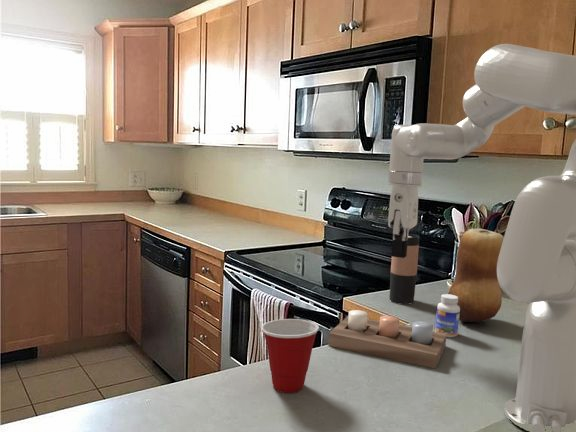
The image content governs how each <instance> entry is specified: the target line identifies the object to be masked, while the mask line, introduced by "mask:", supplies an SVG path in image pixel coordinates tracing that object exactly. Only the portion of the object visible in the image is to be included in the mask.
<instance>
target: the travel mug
mask: <svg viewBox="0 0 576 432" xmlns="http://www.w3.org/2000/svg"><path fill="white" fill-rule="evenodd" d="M407 240H408V244H407V256H406V257H405V258H399V257H393V256H392V255H391V263H390V264H391V265H390V279H389V280H390V281H389V282H390V283H389V301H390V300H391V301H390V302H391V303H394V302H395V303H394V304H398V303H401V304H400V305H410V304H409V303H412V304H413V303H414V302H415V301H414V299H415V294H416V285H417V283H416V282H417V275H418V264H419V263H418V262H419V248H420V236H419V235H418V234H414V233H408V239H407Z"/></svg>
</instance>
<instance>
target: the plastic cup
mask: <svg viewBox="0 0 576 432" xmlns="http://www.w3.org/2000/svg"><path fill="white" fill-rule="evenodd" d="M260 327H261V332H262V333H263V335H264V339H265V344H266V345H267V348H266V349H267V354H268V361H269V370H270V373H271V374H270V375H271V382H272V387H273V388H274V390H276V391H278V392H280V393H284V394H294V393H298V392H301V390H303V388H304V386H305V381H306V377H307V374H308V369H309V365H310V361H311V357H312V356H311V355H312V352H313V346H314V344H315V339H316V337H317V336H316V335H317V334H318V333H317V332H318V331H320V327H319V325H318V323H315V322H313V321H311V320H307V319H298V318H297V319H296V318H284V319H283V318H282V319H273V320H271V321H267V322H264V323H263V324H262V325H261V326H260Z"/></svg>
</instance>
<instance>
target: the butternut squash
mask: <svg viewBox="0 0 576 432" xmlns="http://www.w3.org/2000/svg"><path fill="white" fill-rule="evenodd" d="M504 236H505V235H502V234H501V233H498V232H495V231H492V230H488V229H484V228H480V227H479V228H470V229H467V230H466V231H465V232H463V234H462V235H461V238H460V241H459V243H458V244H459V245H458V249H457V253H456V266H455V277H454V280H453V282H452V284H451V285H450V287H449V291H448V293H447V294H451V295H455V296H457V297H458V303H457V305H458V306H459V307H460V315H459V320H461V321H462V322H465V323H474V324H475V323H478V324H479V323H483V322H485V321H489V320H490V319H493V318H494V317H495V316H496V315H497V314H498V312H499V311H500V309H501V307H502V302H503V299H502V298H503V297H502V289H501V287H500V285H499V282H498V278H497V262H498V257H499V253H500V250H501V246H502V243H503V239H504Z"/></svg>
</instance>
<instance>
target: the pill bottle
mask: <svg viewBox="0 0 576 432" xmlns="http://www.w3.org/2000/svg"><path fill="white" fill-rule="evenodd" d="M457 303H458V297H457V296H455V295H451V294H448V293H444V294H441V297H440V302H438V304H437V308H436V317H435V325H434V326H435V327H434V328H435V329H434V332H440V333H445V334H447V335H446V338H455V337H457V336H458V331H459V324H460V318H459V315H460V307H459V306H458V305H457Z"/></svg>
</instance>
